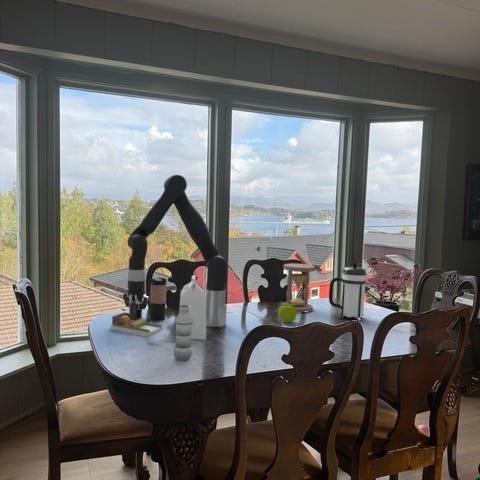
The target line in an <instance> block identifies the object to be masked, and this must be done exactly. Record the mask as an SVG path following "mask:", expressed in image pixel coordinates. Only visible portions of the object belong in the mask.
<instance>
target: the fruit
mask: <svg viewBox="0 0 480 480" xmlns="http://www.w3.org/2000/svg"><path fill="white" fill-rule="evenodd" d="M286 303H287V302H282V301H280V302H279V304H281V305H280V306H279V308H278V317H279V319H280V320H281V321H282V322H283V321H284V323H285V322H291V323H292V322H294V321H295V320H296V319H297V315H298V313H297V309H296V308H295V306H294V305H297V304H293V303H292V304H291V305H290V304H286ZM282 304H284V305H282Z"/></svg>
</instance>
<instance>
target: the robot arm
mask: <svg viewBox="0 0 480 480" xmlns="http://www.w3.org/2000/svg"><path fill="white" fill-rule="evenodd" d="M187 185H188V184H187V179H186V178H185V177H184V176H183V175H180V174H174V175H171V176H170V177H168V178H167V179H165V181H164V184H163V188H164V191H163V192H162V194H161V195H160V196H159V198H158V200H157V201H156V202H155V203H154V205H152V207H151V209H149V211H148V212H147V213H146V215H145V217H143V219H142V220H141V222H140V224H139V225H138V226H137V227H136V228H135V229H134V230H132V232H131V234H130V235H129V237H128V238H127V243H126V244H127V246H128V248H130V249H131V255H130V257H129V258H128V259H129V260H128V271H127V292H125V293H122V297H123V302H124V304H125V307H128V308H129V309H130V304H132V303H136V305H137V318H141V316H142V315H143V310H144V309H146V308H147V306H148V303H149V302H150V295H148V296H147V295H146V293H145V290H146V257H147V252H148V240H147V238H148V237H149V236H150V235H152V234H154V233H155V231H156V230H157V228H158V227H159V225H160V224H161V222H162V221H163V219H164V217H165V216H166V214H167V212H168V211H169V210H170V209H171V207H172V206H173V205H174V207H175V209H176V210H177V212H178V215H179V217H180V219H181V220H182V221H181V222H182V223H183V225H184V227H185V230H186V231H187V233H188V234H189V237H190V238H191V240H192V241H193V242H194V244H195V245H196V247H197V249H198V250H199V252H200V253H201V256H202V258H203V260H204V264H205V266H206V269H207V281H206V286H205V288H206V289H205V295H206V327H209V328H212V327H213V328H221V327H223V326H226V324H227V306H228V305H226V288H227V286H226V285H227V284H228V282H227V281H228V263H227V261H226V258H224V257H223V256H222V255H221V253H220V252H219V251H218V249H217V247H216V246H215V244H214V242H213V239H212V235H211V232H210V230H209V228H208V225H207V223H206V221H205V220H204V218H203V216H202V214H201V213H200V212H199V210H197V208H196V207H195V206H194V205H193V204H192V203H191V201H190V199H189V197H188V196H187V193H186V189H187V187H188V186H187Z"/></svg>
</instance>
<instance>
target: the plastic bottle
mask: <svg viewBox="0 0 480 480" xmlns="http://www.w3.org/2000/svg"><path fill="white" fill-rule="evenodd" d="M178 311H180V313H178V314H177V315H176V318H175V319H174V320H175V321H174V323H175V344H174V349H173V356H174V358H175V359H176V360H178V361H186V360H190V359H191V357H192V353H193V349H192V340H191V331H192V325H193V318H192V316H191V315H190V313H189V311H190V306H188V305H181V306H180V305H179V309H178Z"/></svg>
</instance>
